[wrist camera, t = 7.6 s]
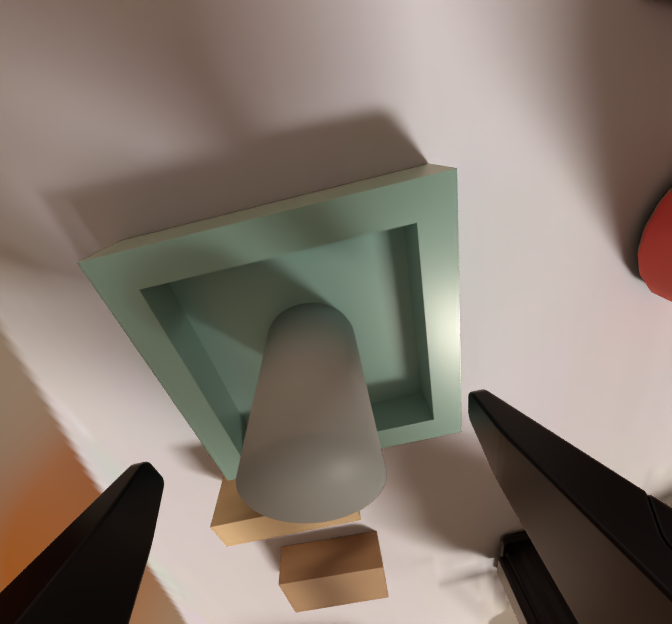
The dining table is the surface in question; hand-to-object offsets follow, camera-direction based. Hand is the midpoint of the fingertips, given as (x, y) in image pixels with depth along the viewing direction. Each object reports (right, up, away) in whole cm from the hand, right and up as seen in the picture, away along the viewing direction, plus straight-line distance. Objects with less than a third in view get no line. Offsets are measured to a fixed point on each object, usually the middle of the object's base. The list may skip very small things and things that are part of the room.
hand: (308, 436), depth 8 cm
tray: (0, +3, +5) cm, 5 cm away
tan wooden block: (+1, -15, +15) cm, 21 cm away
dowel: (0, +2, +4) cm, 5 cm away
